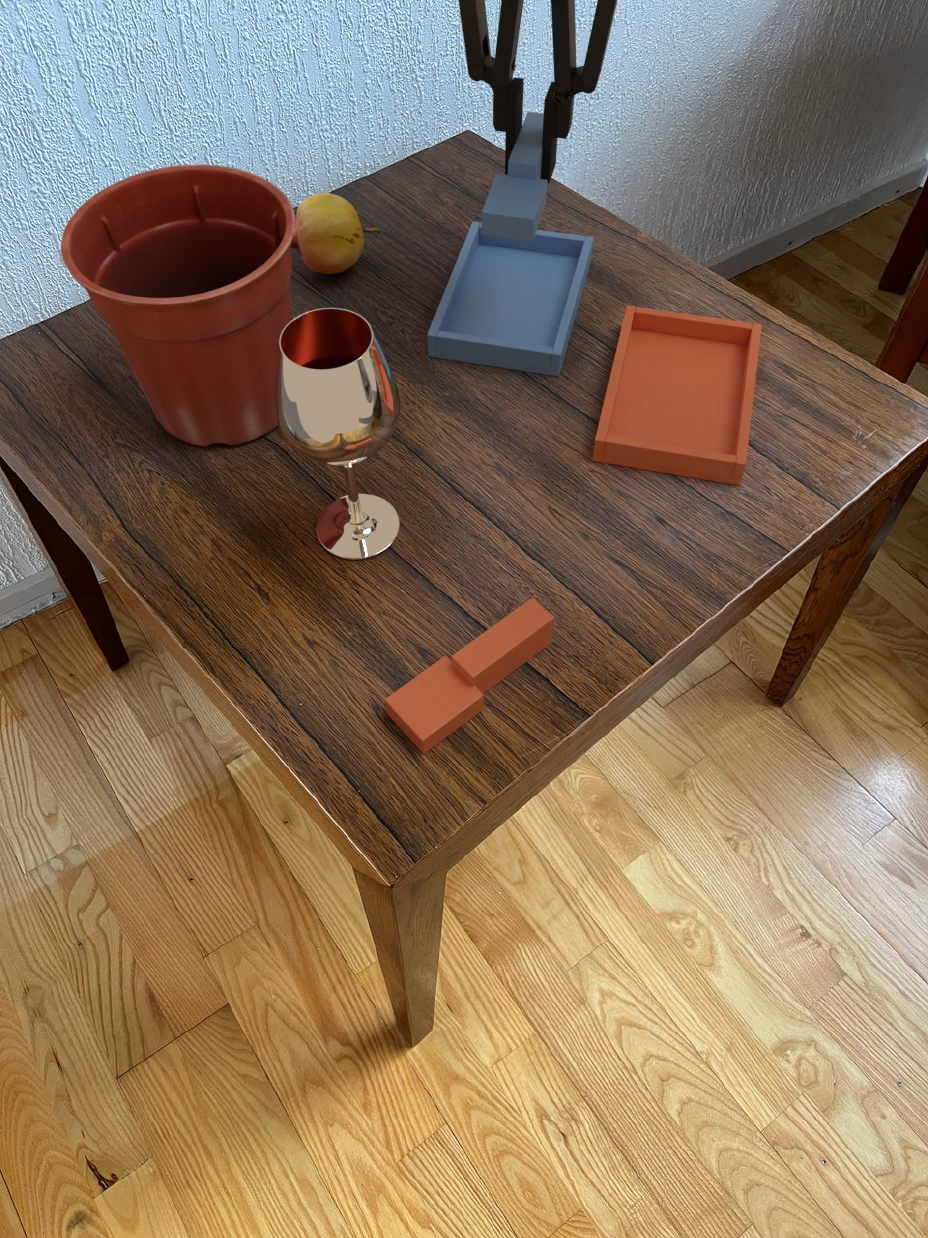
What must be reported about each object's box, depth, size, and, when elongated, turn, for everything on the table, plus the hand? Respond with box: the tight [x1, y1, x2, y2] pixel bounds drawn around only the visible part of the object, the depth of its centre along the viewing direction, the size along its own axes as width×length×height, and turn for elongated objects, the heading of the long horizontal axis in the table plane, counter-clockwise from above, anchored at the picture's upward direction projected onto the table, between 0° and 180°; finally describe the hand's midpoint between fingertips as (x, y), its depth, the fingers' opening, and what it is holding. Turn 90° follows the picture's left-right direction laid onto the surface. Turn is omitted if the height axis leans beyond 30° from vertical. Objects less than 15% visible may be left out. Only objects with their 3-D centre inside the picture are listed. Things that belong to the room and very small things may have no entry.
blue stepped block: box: [481, 111, 548, 242], centre depth 75 cm, size 12×4×3 cm, turn 166°
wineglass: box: [274, 307, 401, 561], centre depth 66 cm, size 8×8×18 cm
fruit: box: [291, 192, 381, 275], centre depth 88 cm, size 7×7×10 cm
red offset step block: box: [384, 597, 555, 755], centre depth 64 cm, size 12×4×3 cm, turn 130°
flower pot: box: [60, 163, 296, 447], centre depth 75 cm, size 16×16×16 cm
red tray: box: [592, 304, 763, 486], centre depth 79 cm, size 12×17×2 cm
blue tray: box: [426, 221, 595, 377], centre depth 86 cm, size 12×17×2 cm
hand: (530, 170), depth 77 cm, fingers closed on blue stepped block, 2 cm apart
